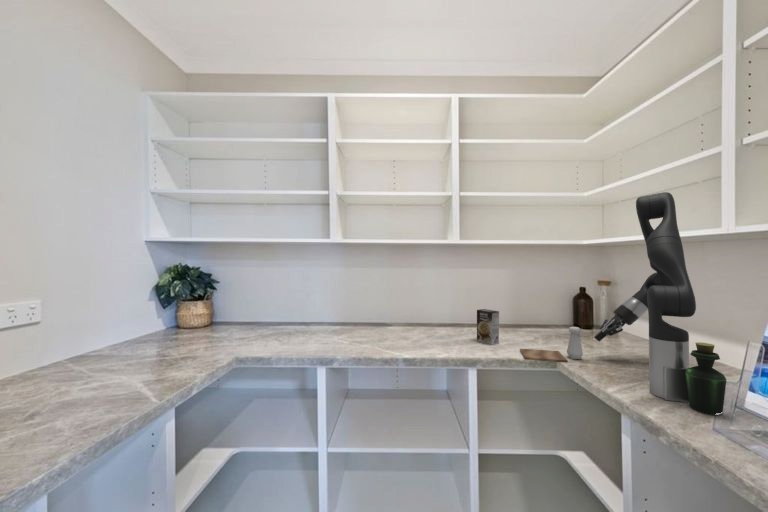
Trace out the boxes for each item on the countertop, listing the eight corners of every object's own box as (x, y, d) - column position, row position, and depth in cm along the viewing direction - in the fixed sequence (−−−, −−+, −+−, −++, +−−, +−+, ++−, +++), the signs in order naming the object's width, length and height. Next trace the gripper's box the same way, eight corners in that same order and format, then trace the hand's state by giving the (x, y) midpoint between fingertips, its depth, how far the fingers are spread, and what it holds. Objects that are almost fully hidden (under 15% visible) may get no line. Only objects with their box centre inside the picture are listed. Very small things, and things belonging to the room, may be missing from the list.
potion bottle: (681, 408, 90) (680, 343, 91) (689, 401, 95) (689, 339, 95) (723, 420, 84) (722, 349, 84) (730, 411, 88) (729, 345, 89)
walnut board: (558, 352, 145) (558, 351, 145) (567, 362, 132) (567, 360, 132) (519, 350, 149) (519, 348, 149) (524, 359, 136) (524, 357, 136)
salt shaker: (574, 360, 134) (574, 328, 134) (563, 356, 139) (563, 326, 139) (586, 359, 135) (585, 328, 135) (574, 355, 141) (574, 325, 141)
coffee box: (476, 341, 165) (476, 309, 165) (484, 339, 169) (483, 308, 169) (491, 345, 158) (491, 312, 158) (499, 343, 162) (499, 310, 162)
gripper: (615, 301, 139) (583, 329, 142) (630, 306, 127) (594, 336, 130) (630, 314, 138) (597, 342, 141) (646, 320, 125) (610, 350, 128)
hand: (596, 339), depth 135 cm, fingers closed
